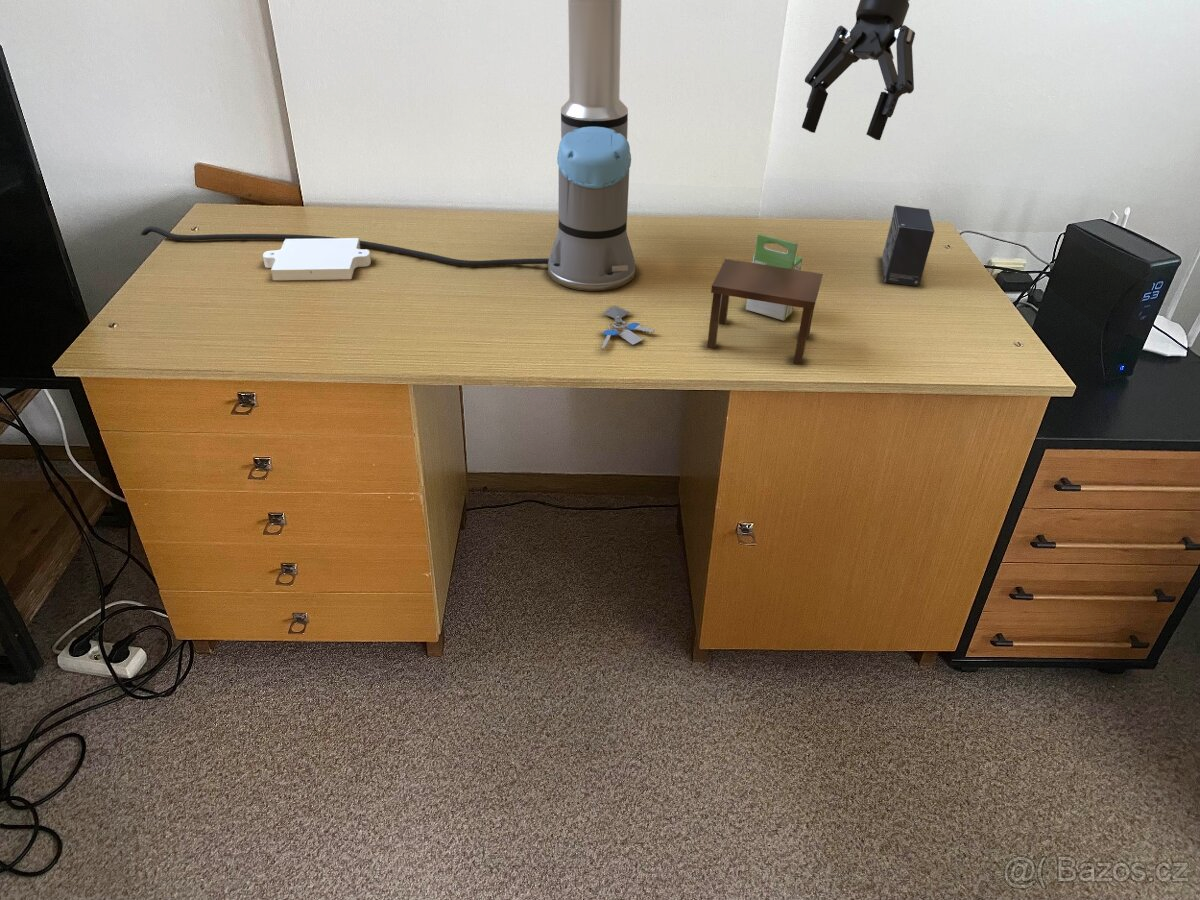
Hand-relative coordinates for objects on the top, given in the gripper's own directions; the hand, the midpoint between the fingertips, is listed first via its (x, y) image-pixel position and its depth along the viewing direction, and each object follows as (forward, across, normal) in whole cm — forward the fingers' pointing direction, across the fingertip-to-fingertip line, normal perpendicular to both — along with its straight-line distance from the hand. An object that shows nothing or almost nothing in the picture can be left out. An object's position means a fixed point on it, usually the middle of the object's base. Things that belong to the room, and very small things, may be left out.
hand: (839, 133), depth 142 cm
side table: (+35, -8, +11) cm, 37 cm away
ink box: (+30, -2, +4) cm, 31 cm away
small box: (+17, -3, -24) cm, 30 cm away
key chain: (+39, +5, +26) cm, 47 cm away
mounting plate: (+46, +53, +58) cm, 91 cm away
